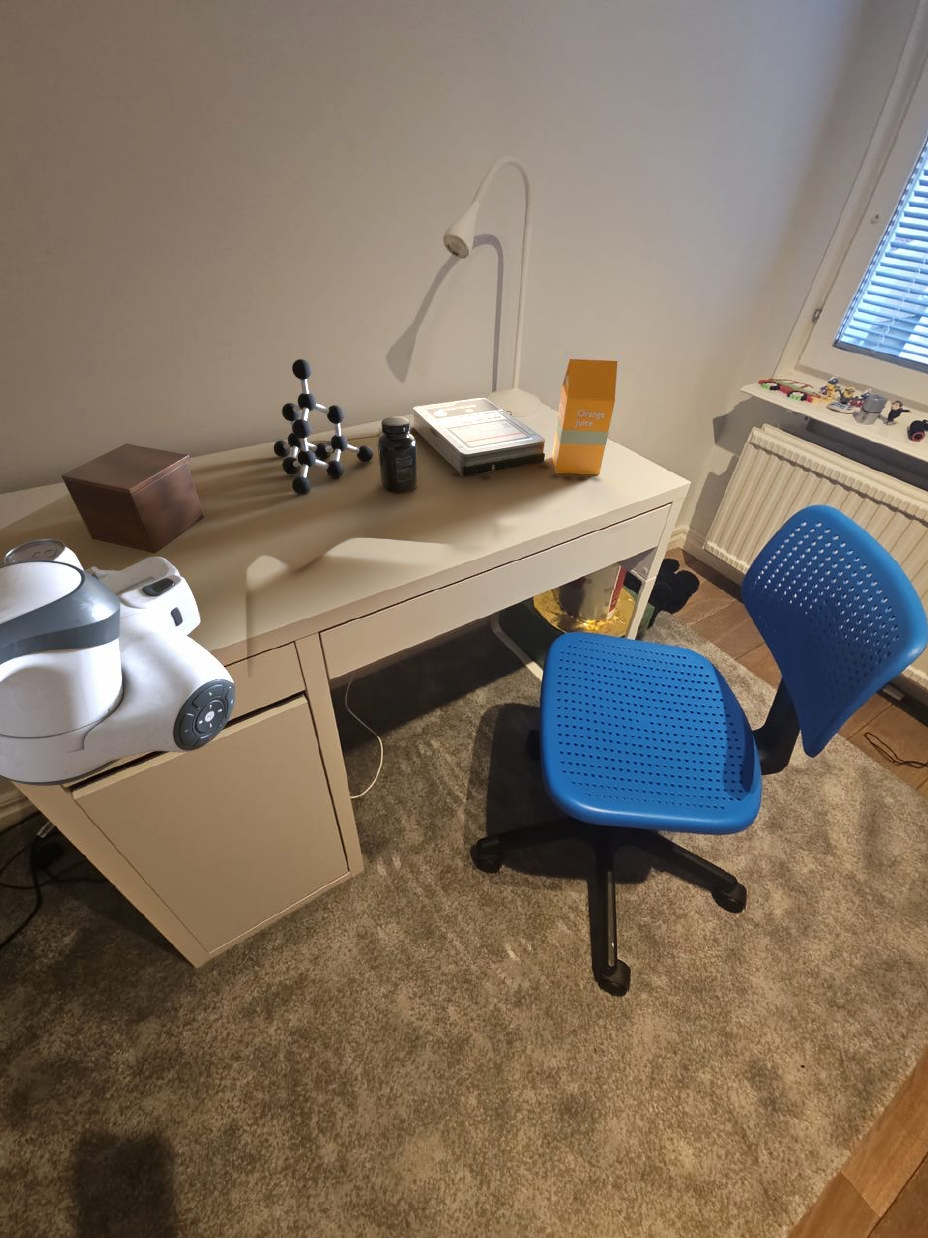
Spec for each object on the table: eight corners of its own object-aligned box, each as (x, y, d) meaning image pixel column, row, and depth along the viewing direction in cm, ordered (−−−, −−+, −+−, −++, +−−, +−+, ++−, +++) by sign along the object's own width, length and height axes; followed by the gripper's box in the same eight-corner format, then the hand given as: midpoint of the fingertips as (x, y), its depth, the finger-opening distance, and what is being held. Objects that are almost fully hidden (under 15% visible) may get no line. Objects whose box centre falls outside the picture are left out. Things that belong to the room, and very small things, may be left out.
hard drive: (463, 476, 104) (463, 454, 101) (412, 426, 122) (411, 406, 119) (544, 461, 110) (547, 440, 107) (484, 416, 128) (485, 397, 125)
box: (145, 504, 92) (123, 450, 86) (204, 517, 90) (186, 461, 83) (91, 538, 84) (63, 480, 77) (155, 553, 81) (131, 494, 75)
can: (59, 623, 67) (8, 540, 59) (117, 614, 68) (75, 532, 60) (46, 658, 62) (-11, 574, 54) (108, 648, 64) (62, 564, 56)
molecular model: (377, 461, 108) (368, 353, 95) (302, 499, 95) (280, 381, 82) (314, 439, 115) (298, 336, 102) (237, 472, 102) (207, 359, 89)
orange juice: (599, 474, 106) (622, 367, 93) (555, 472, 106) (571, 365, 93) (593, 457, 112) (614, 354, 99) (551, 456, 112) (566, 352, 99)
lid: (127, 447, 86) (126, 443, 86) (190, 459, 84) (189, 454, 83) (63, 480, 77) (60, 475, 77) (131, 494, 75) (129, 489, 74)
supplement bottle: (420, 478, 103) (418, 415, 95) (414, 495, 98) (412, 430, 90) (384, 475, 103) (380, 412, 95) (376, 492, 98) (371, 427, 90)
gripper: (21, 724, 51) (-37, 659, 57) (213, 614, 63) (149, 571, 69) (-16, 678, 47) (-74, 614, 53) (197, 571, 59) (131, 529, 65)
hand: (54, 589), depth 61 cm, fingers closed on can, 6 cm apart
